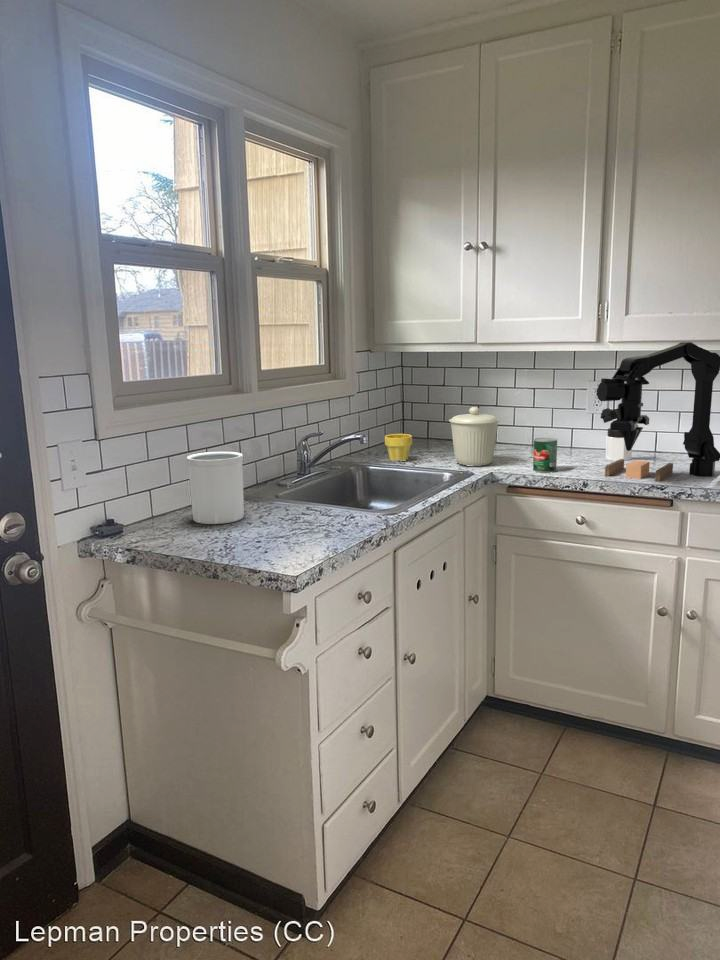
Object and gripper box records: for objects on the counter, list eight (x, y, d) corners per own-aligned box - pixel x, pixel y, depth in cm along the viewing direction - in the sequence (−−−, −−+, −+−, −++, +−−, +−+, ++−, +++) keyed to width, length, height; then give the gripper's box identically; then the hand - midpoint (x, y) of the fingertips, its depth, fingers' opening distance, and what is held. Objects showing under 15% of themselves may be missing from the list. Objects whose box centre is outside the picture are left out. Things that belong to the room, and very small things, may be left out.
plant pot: (397, 464, 270) (397, 438, 268) (379, 461, 278) (379, 435, 276) (418, 460, 276) (417, 435, 274) (399, 457, 284) (399, 432, 282)
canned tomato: (530, 472, 249) (531, 440, 247) (535, 468, 256) (536, 437, 254) (554, 473, 246) (554, 441, 244) (558, 469, 253) (559, 438, 250)
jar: (619, 464, 257) (621, 431, 255) (600, 461, 264) (602, 429, 262) (635, 461, 262) (637, 428, 260) (616, 458, 269) (618, 426, 266)
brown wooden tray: (674, 477, 235) (675, 463, 234) (661, 485, 223) (661, 471, 222) (618, 471, 246) (618, 458, 245) (602, 479, 234) (603, 465, 233)
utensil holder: (210, 510, 208) (206, 449, 205) (256, 513, 203) (252, 451, 200) (180, 523, 195) (175, 458, 191) (228, 527, 190) (223, 461, 186)
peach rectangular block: (648, 474, 235) (649, 461, 234) (640, 479, 228) (641, 466, 227) (634, 473, 238) (635, 460, 237) (625, 477, 231) (626, 464, 230)
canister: (455, 459, 278) (454, 404, 273) (502, 460, 272) (503, 404, 267) (444, 467, 261) (444, 409, 257) (494, 469, 255) (495, 409, 251)
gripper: (615, 396, 232) (612, 444, 235) (594, 401, 218) (592, 452, 221) (651, 397, 226) (648, 447, 229) (631, 403, 211) (629, 455, 214)
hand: (628, 450), depth 223 cm, fingers closed
